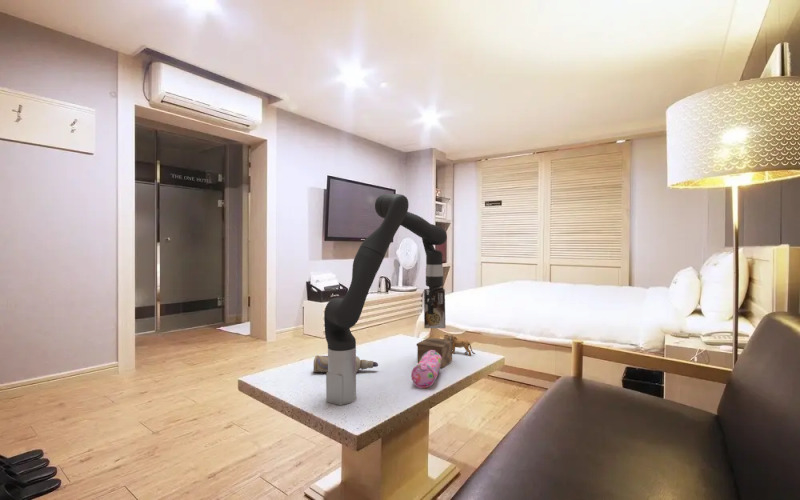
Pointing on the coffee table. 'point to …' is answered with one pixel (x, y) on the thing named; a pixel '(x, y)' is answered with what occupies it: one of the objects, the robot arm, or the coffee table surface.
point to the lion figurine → (459, 344)
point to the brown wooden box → (436, 349)
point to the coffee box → (435, 311)
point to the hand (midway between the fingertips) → (434, 312)
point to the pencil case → (427, 369)
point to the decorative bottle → (322, 364)
